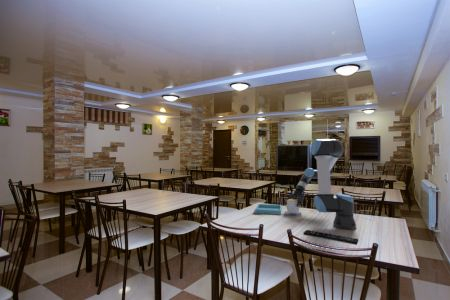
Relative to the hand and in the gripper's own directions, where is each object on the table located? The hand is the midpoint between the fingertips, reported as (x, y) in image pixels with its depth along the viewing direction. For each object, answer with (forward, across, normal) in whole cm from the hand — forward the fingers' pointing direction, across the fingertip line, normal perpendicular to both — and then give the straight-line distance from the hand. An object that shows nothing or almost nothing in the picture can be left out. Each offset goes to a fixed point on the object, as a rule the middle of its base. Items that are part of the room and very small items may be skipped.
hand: (290, 208), depth 216 cm
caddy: (0, 0, -5) cm, 5 cm away
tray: (+7, +21, -2) cm, 22 cm away
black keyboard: (+23, -47, +13) cm, 54 cm away
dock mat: (+2, 0, -7) cm, 7 cm away
